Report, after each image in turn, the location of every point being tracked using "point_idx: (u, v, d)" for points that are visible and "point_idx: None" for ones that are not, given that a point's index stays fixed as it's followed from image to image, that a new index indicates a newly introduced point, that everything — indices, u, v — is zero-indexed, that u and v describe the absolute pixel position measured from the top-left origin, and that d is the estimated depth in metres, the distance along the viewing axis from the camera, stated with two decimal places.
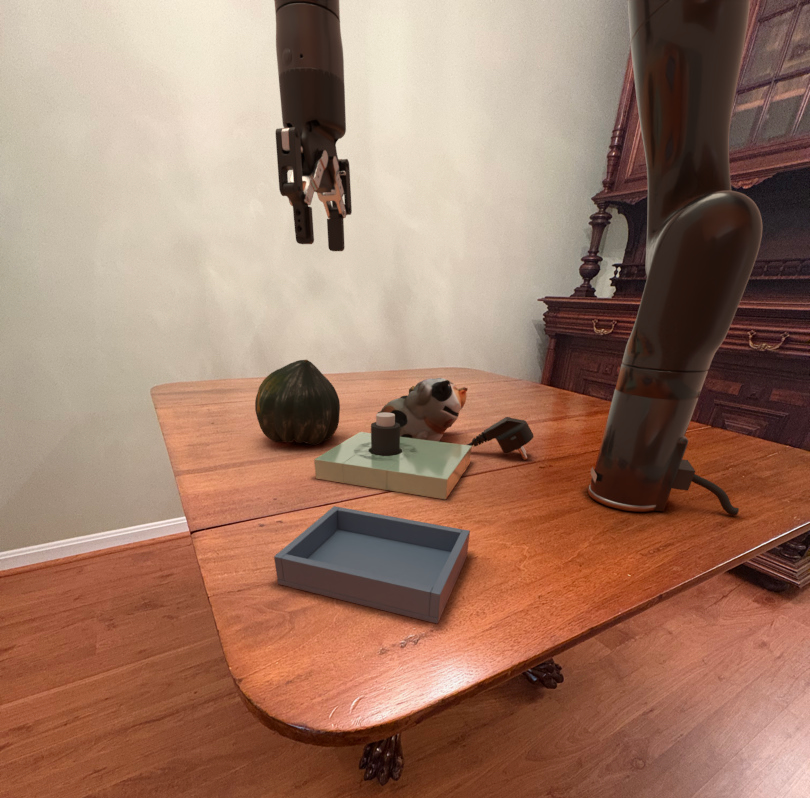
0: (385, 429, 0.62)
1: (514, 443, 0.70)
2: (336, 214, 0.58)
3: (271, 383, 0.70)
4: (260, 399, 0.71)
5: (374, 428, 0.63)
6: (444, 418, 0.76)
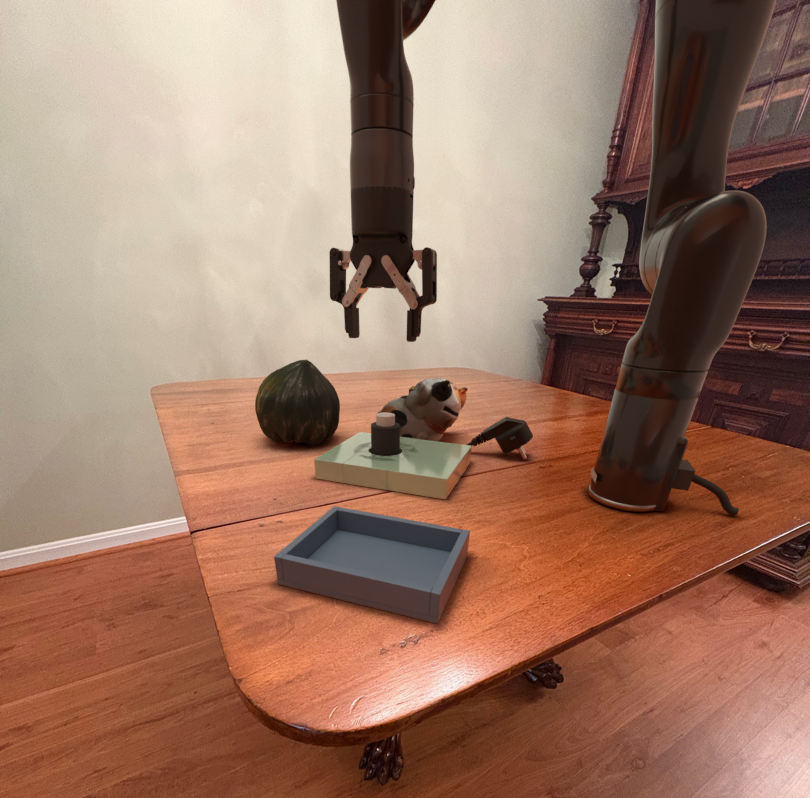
0: (385, 429, 0.62)
1: (513, 443, 0.70)
2: None
3: (271, 383, 0.70)
4: (260, 399, 0.71)
5: (374, 428, 0.63)
6: (444, 418, 0.76)
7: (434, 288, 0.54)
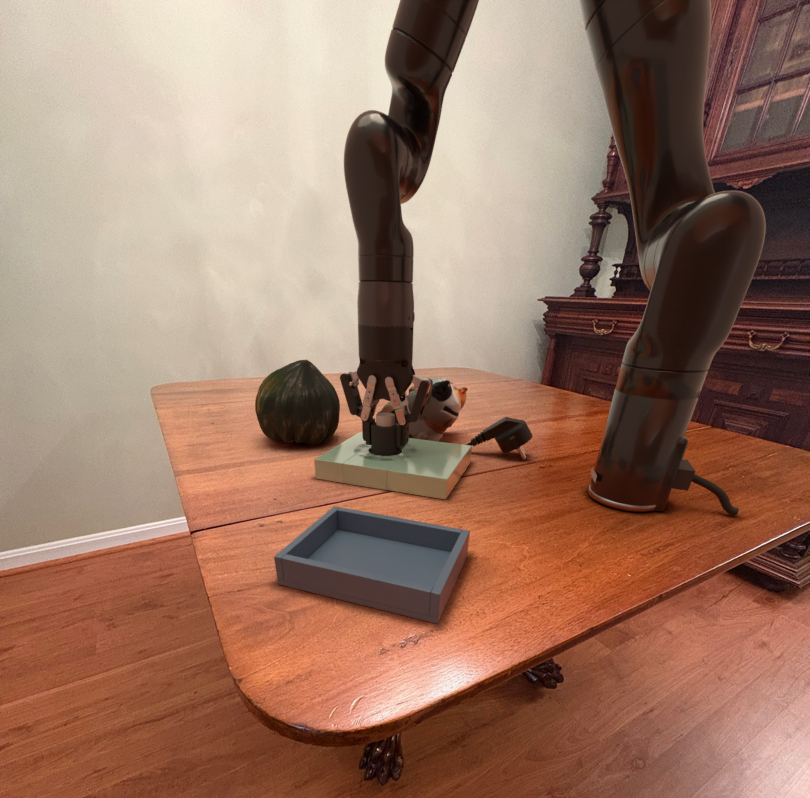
0: (385, 429, 0.62)
1: (513, 443, 0.70)
2: None
3: (271, 383, 0.70)
4: (260, 399, 0.71)
5: (374, 428, 0.63)
6: (444, 418, 0.76)
7: (422, 408, 0.62)
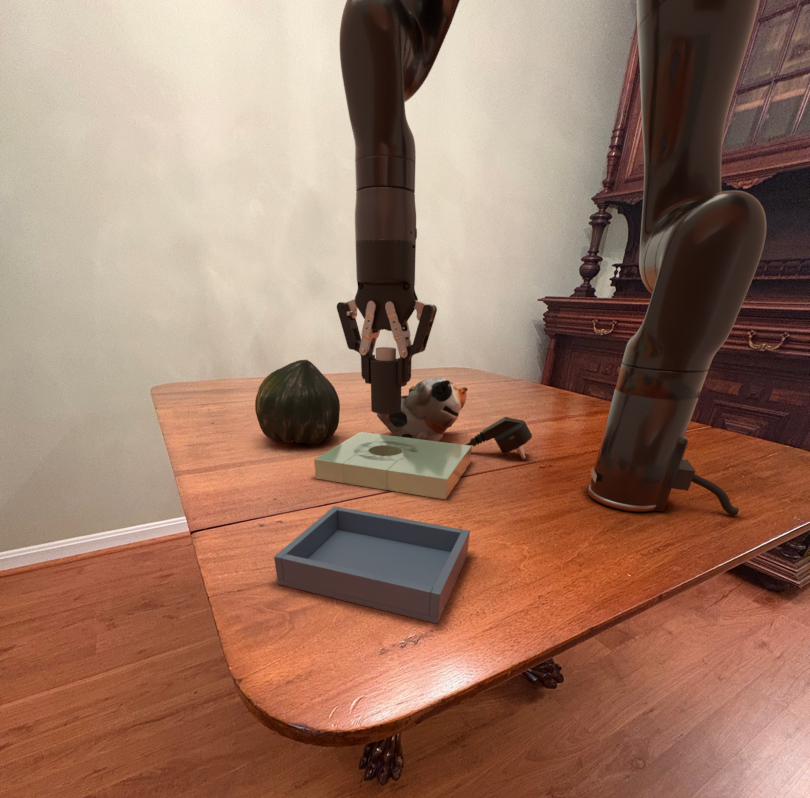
0: (386, 362, 0.58)
1: (512, 443, 0.70)
2: None
3: (271, 383, 0.70)
4: (260, 399, 0.71)
5: (374, 362, 0.58)
6: (444, 418, 0.76)
7: (425, 339, 0.57)
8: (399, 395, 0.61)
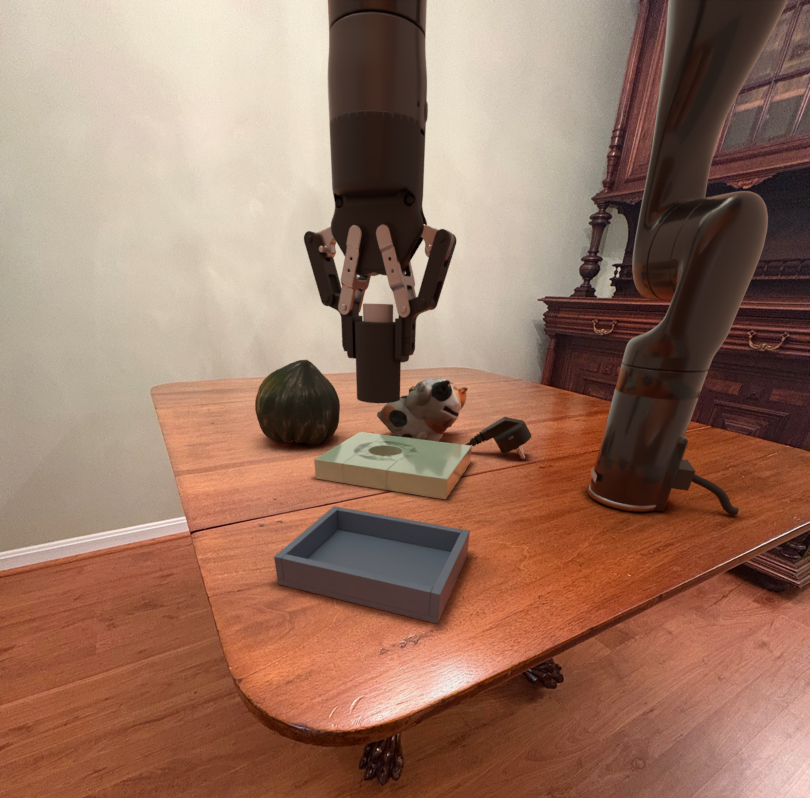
0: (377, 324, 0.38)
1: (512, 443, 0.70)
2: None
3: (271, 383, 0.70)
4: (260, 399, 0.71)
5: (359, 325, 0.39)
6: (444, 418, 0.76)
7: (438, 290, 0.38)
8: (397, 376, 0.41)
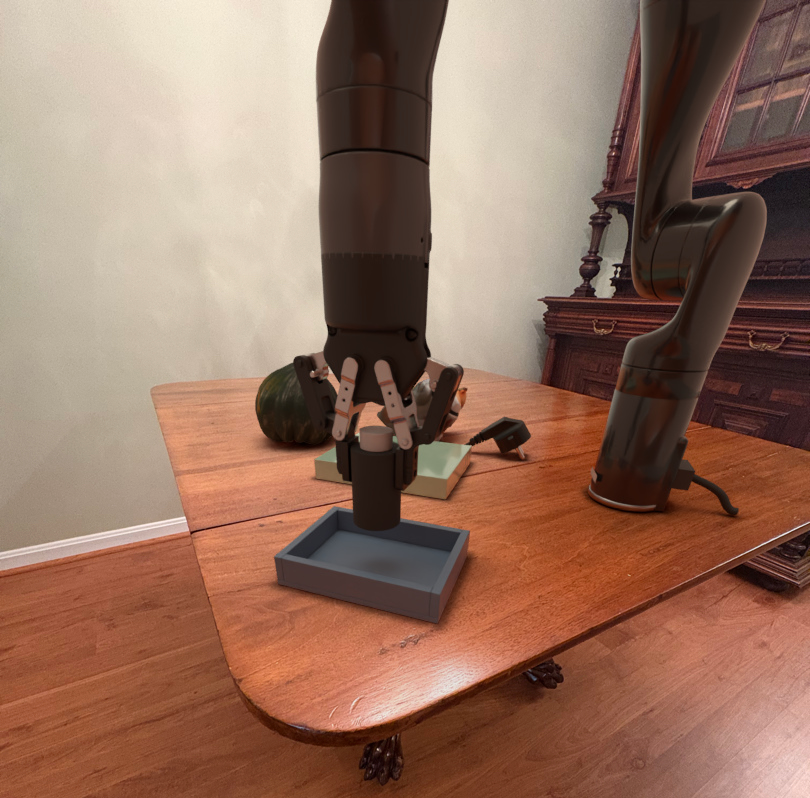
0: (376, 456, 0.34)
1: (511, 443, 0.70)
2: None
3: (271, 383, 0.70)
4: (260, 399, 0.71)
5: (356, 454, 0.35)
6: None
7: (443, 419, 0.34)
8: (398, 501, 0.38)
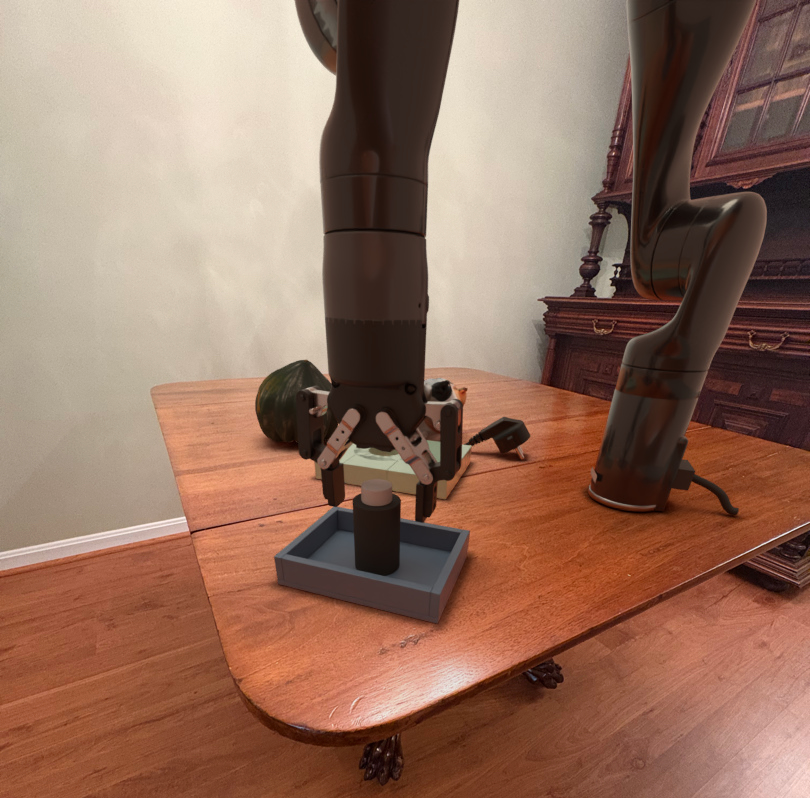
0: (376, 511, 0.37)
1: (511, 443, 0.70)
2: None
3: (271, 383, 0.70)
4: (260, 399, 0.71)
5: (357, 509, 0.37)
6: None
7: (458, 452, 0.35)
8: (397, 549, 0.40)
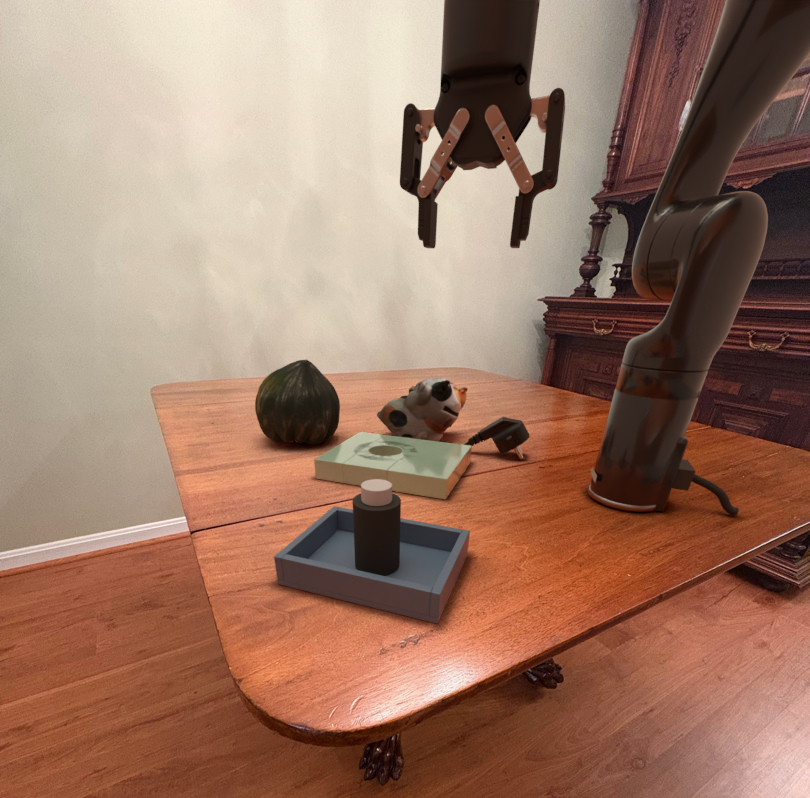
0: (376, 511, 0.37)
1: (510, 443, 0.70)
2: None
3: (271, 383, 0.70)
4: (260, 399, 0.71)
5: (357, 509, 0.37)
6: (444, 418, 0.76)
7: None
8: (397, 549, 0.40)
